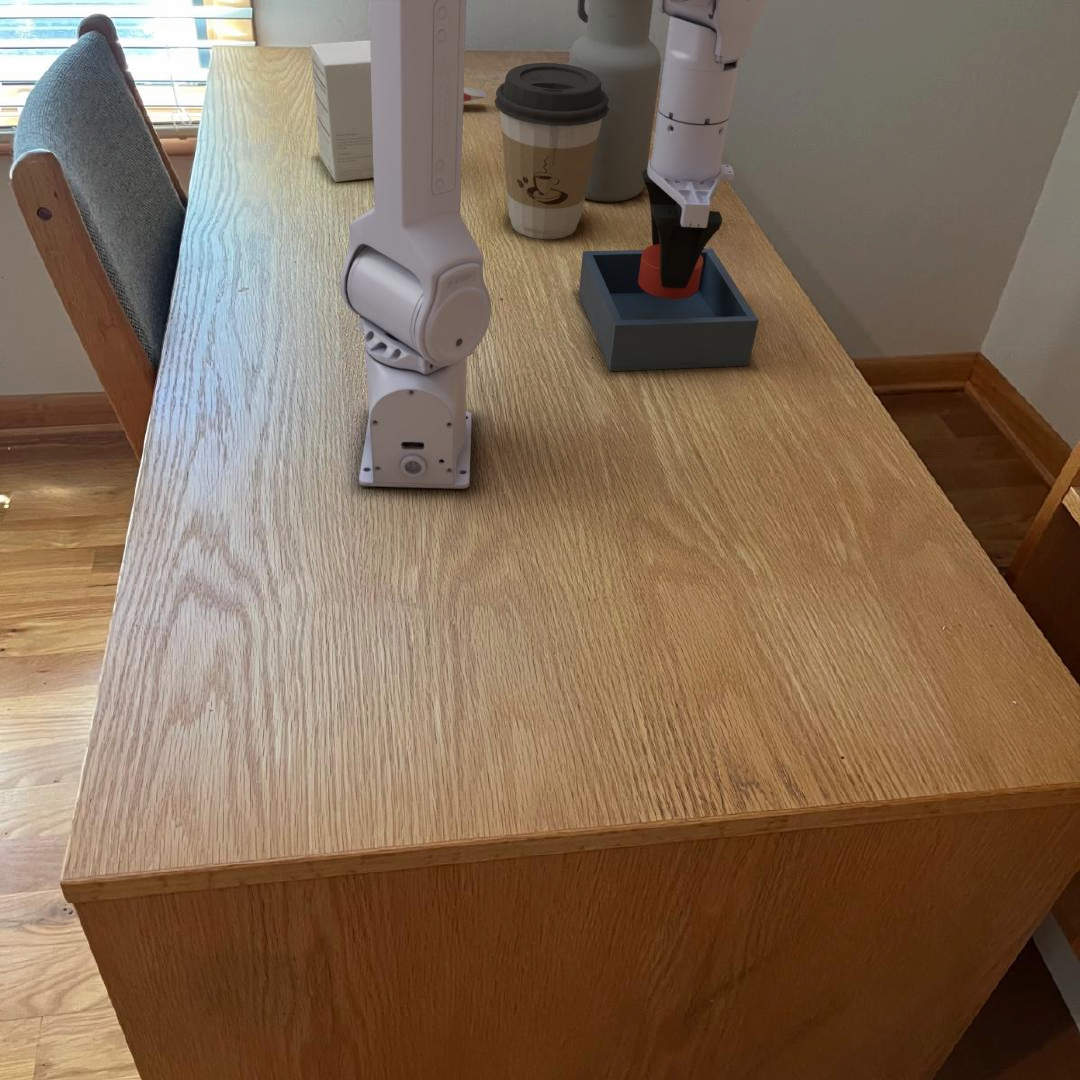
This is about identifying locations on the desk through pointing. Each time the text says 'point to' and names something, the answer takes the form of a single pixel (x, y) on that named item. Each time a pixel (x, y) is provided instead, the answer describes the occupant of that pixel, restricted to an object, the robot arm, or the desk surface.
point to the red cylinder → (652, 279)
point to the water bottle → (620, 92)
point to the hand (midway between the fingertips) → (669, 270)
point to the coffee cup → (549, 144)
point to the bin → (664, 316)
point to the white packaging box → (344, 108)
